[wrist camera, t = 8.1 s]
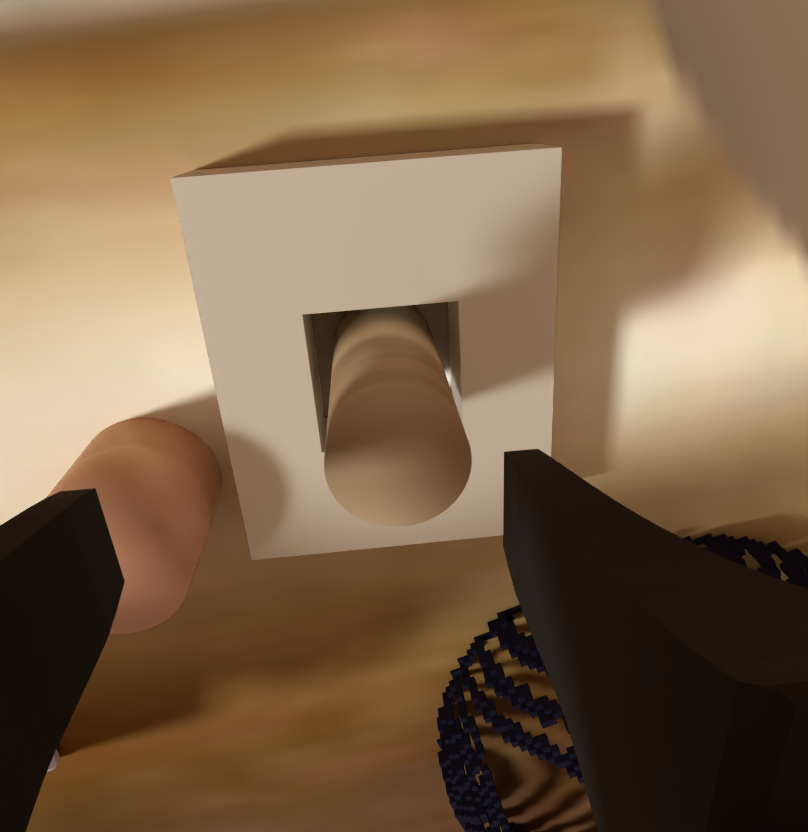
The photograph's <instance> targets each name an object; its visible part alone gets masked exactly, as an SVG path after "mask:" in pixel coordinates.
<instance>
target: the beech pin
mask: <svg viewBox="0 0 808 832" xmlns="http://www.w3.org/2000/svg"><path fill="white" fill-rule="evenodd" d="M471 465H472V454H471V448H470V444H469V441H468V438H467V436H466V433H465V430H464V427H463V424H462V421H461V418H460V415H459V413H458V410H457V407H456V404H455V401H454V398H453V395H452V392H451V390H450V387H449V384H448V381H447V378H446V375H445V372H444V369H443V367H442V364H441V361H440V358H439V355H438V352H437V349H436V346H435V344H434V341H433V338H432V335H431V332H430V329H429V326H428V324H427V322H426V320H425V319H424V317H423V316H422V314H421V313H420V312H419V311H418V310H417V309H416V308H414V307H413V306H412V305H407V306H395V307H384V308H372V309H361V310H349V311H348V312H347V313H346V314H345V315H344V316H343V318H342V320H341V321H340V323H339V325H338V327H337V330H336V334H335V340H334V351H333V363H332V374H331V386H330V398H329V409H328V421H327V432H326V444H325V455H324V472H325V478H326V481H327V485H328V487H329V489H330V491H331V493H332V494H333V496H334V498H335V499H336V500H337V501H338V503H339V504H340V505H341V506H342V507H343V508H344V509H346V510H347V511H348V512H349V513H351V514H352V515H354V516H355V517H357V518H359V519H361V520H363V521H366V522H369V523H371V524H375V525H380V526H387V527H403V526H411V525H415V524H419V523H422V522H425V521H428V520H430V519H432V518H434V517H436V516H438V515H439V514H441V513H442V512H444V511H445V510H446V509H448V508H449V507H450V506H451V505H452V504H453V503H454V502H455V501H456V500H457V499H458V497H459V496H460V495H461V493H462V492H463V490H464V488H465V486H466V484H467V482H468V479H469V476H470V472H471Z"/></svg>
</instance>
